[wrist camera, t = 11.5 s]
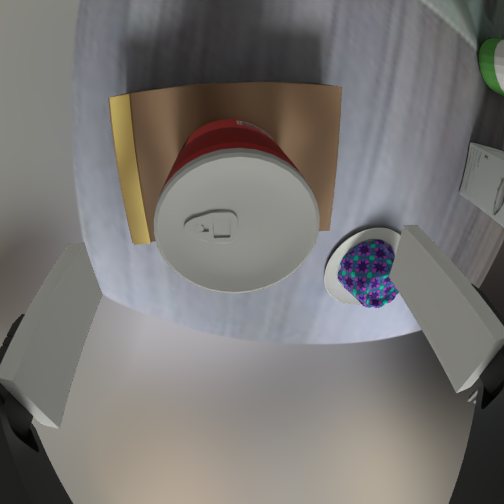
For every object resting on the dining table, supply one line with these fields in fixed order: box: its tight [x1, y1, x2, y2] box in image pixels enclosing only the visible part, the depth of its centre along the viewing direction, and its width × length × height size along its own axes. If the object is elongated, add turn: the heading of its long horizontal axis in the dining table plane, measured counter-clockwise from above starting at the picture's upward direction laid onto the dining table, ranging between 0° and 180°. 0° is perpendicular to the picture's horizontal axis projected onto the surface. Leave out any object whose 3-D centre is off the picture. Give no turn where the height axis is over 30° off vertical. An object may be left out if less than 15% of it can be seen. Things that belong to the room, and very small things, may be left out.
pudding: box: [324, 228, 401, 308], centre depth 35 cm, size 12×12×5 cm
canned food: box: [154, 119, 320, 293], centre depth 19 cm, size 8×8×11 cm
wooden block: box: [109, 82, 342, 245], centre depth 25 cm, size 18×13×5 cm
